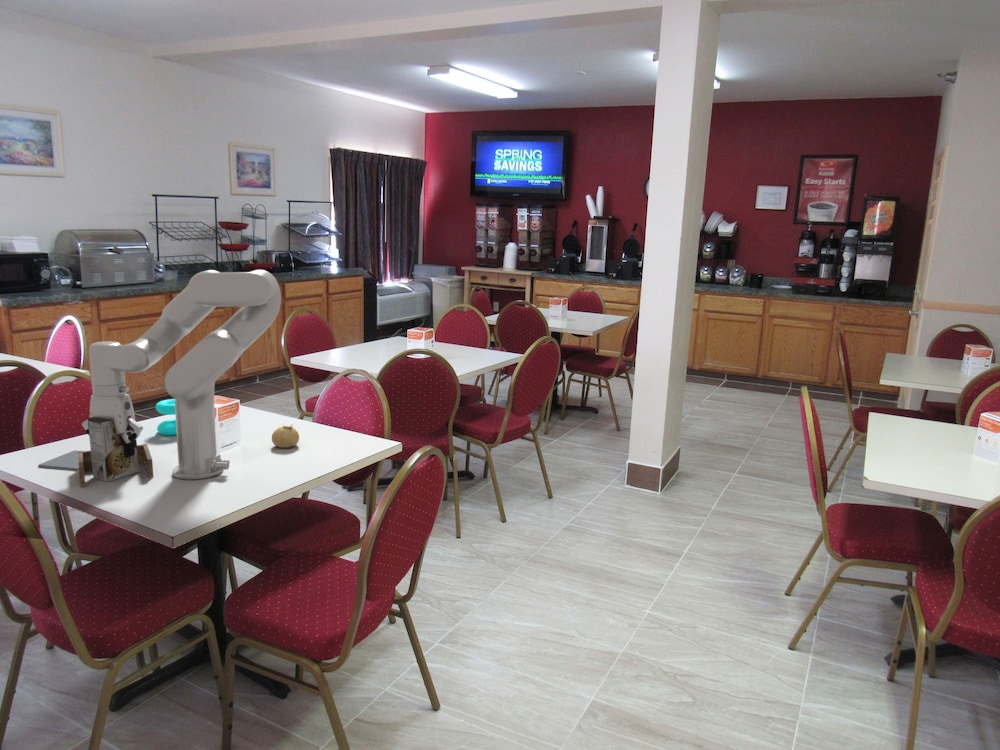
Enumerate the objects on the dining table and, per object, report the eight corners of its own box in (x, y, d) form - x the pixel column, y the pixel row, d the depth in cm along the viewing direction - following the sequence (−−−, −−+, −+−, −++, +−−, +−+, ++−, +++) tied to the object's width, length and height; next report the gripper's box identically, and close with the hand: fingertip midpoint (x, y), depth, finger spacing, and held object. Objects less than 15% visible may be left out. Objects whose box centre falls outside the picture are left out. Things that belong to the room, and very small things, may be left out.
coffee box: (125, 467, 188) (121, 410, 185) (140, 472, 185) (135, 414, 182) (91, 477, 180) (86, 417, 177) (106, 482, 177) (101, 421, 174)
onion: (270, 451, 207) (270, 428, 205) (273, 443, 214) (272, 421, 213) (298, 450, 208) (298, 427, 207) (300, 442, 216) (299, 420, 215)
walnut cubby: (148, 461, 194) (146, 444, 193) (153, 477, 182) (152, 459, 181) (79, 469, 186) (78, 451, 184) (80, 487, 174) (78, 468, 172)
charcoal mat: (115, 455, 197) (115, 453, 197) (81, 470, 185) (81, 468, 185) (74, 452, 199) (74, 450, 199) (38, 466, 187) (38, 464, 186)
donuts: (149, 404, 215) (165, 397, 225) (151, 435, 217) (167, 427, 227) (180, 406, 215) (195, 398, 225) (182, 437, 217) (197, 428, 227)
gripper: (149, 389, 180) (154, 453, 184) (89, 384, 183) (94, 448, 186) (130, 395, 173) (135, 462, 177) (67, 390, 176) (74, 456, 179)
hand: (114, 454), depth 182 cm, fingers closed on coffee box, 8 cm apart
